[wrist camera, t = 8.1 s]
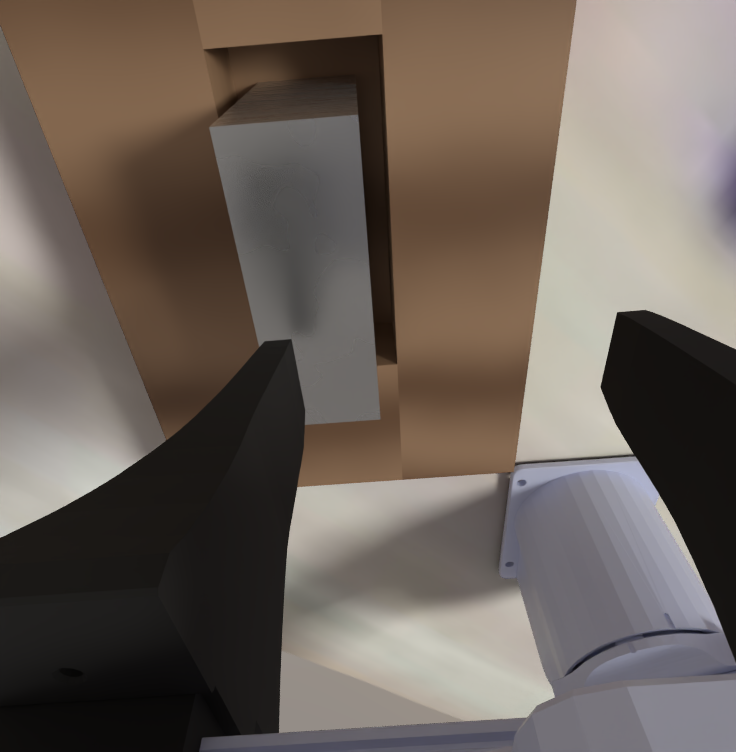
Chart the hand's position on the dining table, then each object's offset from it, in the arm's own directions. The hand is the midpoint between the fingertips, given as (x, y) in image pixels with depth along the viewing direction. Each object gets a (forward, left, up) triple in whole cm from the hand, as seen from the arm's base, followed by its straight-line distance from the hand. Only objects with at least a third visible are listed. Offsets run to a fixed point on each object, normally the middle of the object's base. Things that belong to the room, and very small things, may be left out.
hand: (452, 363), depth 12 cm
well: (+1, +3, -9) cm, 10 cm away
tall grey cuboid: (+1, +3, -9) cm, 9 cm away
